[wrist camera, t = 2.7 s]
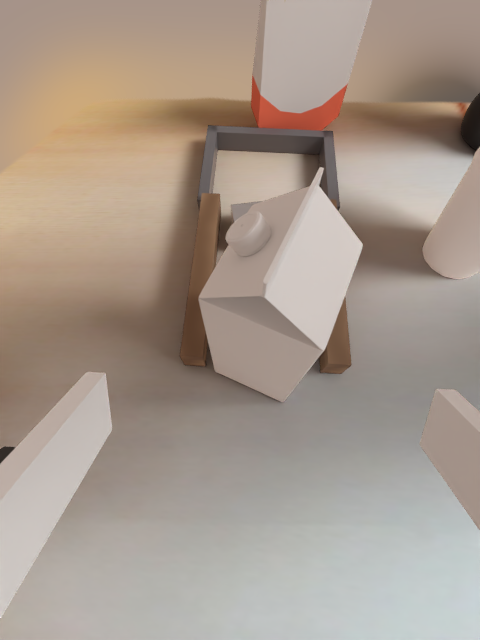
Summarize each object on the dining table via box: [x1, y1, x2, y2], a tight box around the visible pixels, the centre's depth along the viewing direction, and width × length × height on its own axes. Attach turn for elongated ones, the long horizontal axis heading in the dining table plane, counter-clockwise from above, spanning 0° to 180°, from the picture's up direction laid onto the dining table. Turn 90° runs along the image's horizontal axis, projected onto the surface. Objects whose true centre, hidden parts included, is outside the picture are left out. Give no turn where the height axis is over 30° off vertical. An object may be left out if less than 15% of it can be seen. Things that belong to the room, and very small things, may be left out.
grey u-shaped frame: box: [197, 125, 340, 211], centre depth 40 cm, size 16×13×2 cm
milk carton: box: [198, 167, 363, 402], centre depth 23 cm, size 7×7×19 cm
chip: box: [231, 201, 262, 224], centre depth 36 cm, size 4×4×3 cm
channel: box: [180, 193, 351, 374], centre depth 33 cm, size 15×19×3 cm
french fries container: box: [251, 0, 372, 131], centre depth 37 cm, size 5×11×18 cm, turn 102°
